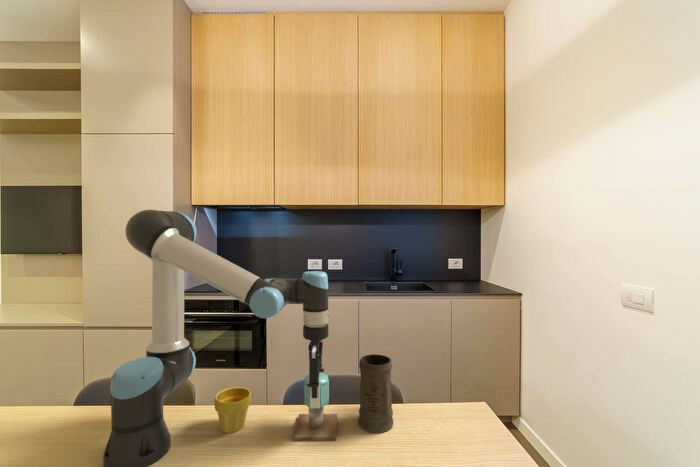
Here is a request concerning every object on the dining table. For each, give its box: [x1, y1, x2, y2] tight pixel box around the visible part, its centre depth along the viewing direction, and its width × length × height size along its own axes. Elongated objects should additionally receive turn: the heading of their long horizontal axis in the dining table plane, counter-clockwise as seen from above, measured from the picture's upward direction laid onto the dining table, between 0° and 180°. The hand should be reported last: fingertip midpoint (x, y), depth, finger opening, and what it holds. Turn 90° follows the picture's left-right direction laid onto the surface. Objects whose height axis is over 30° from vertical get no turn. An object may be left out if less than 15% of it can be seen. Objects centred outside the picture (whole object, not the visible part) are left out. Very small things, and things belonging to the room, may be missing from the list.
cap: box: [303, 372, 330, 408], centre depth 101 cm, size 7×7×7 cm
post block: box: [292, 406, 338, 442], centre depth 101 cm, size 12×12×7 cm
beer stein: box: [357, 353, 394, 434], centre depth 106 cm, size 15×11×20 cm
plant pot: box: [214, 386, 252, 434], centre depth 102 cm, size 10×10×10 cm
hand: (316, 400), depth 101 cm, fingers closed on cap, 7 cm apart
